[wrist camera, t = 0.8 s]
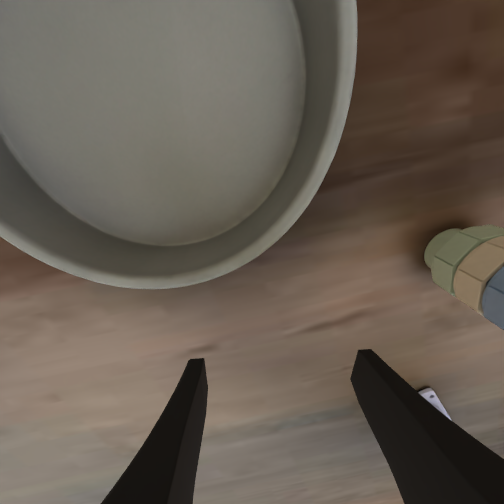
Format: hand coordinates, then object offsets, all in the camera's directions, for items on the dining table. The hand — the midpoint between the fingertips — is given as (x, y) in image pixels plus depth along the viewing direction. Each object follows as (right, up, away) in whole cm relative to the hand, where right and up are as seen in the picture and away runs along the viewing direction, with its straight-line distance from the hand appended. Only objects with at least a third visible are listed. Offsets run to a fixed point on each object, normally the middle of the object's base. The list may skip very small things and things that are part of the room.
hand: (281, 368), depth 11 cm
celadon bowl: (+16, +6, +9) cm, 19 cm away
